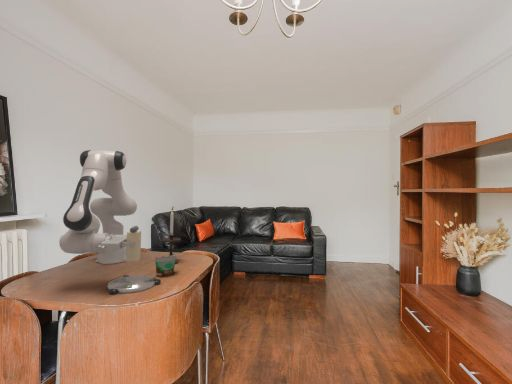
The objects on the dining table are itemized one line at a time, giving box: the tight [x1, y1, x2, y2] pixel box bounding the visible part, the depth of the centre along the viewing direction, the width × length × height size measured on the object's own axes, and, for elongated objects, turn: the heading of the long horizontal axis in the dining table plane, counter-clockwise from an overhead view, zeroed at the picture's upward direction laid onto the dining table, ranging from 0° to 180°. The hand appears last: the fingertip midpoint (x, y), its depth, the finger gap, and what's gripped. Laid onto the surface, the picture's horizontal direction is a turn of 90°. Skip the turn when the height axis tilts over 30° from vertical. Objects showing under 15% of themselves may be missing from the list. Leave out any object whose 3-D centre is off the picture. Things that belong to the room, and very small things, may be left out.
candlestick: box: [161, 206, 181, 265], centre depth 158 cm, size 11×11×35 cm
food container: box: [153, 252, 178, 278], centre depth 133 cm, size 12×6×10 cm, turn 148°
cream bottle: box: [125, 225, 142, 263], centre depth 118 cm, size 6×5×15 cm
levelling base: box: [107, 274, 162, 296], centre depth 118 cm, size 21×22×2 cm
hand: (135, 242), depth 118 cm, fingers closed on cream bottle, 5 cm apart
